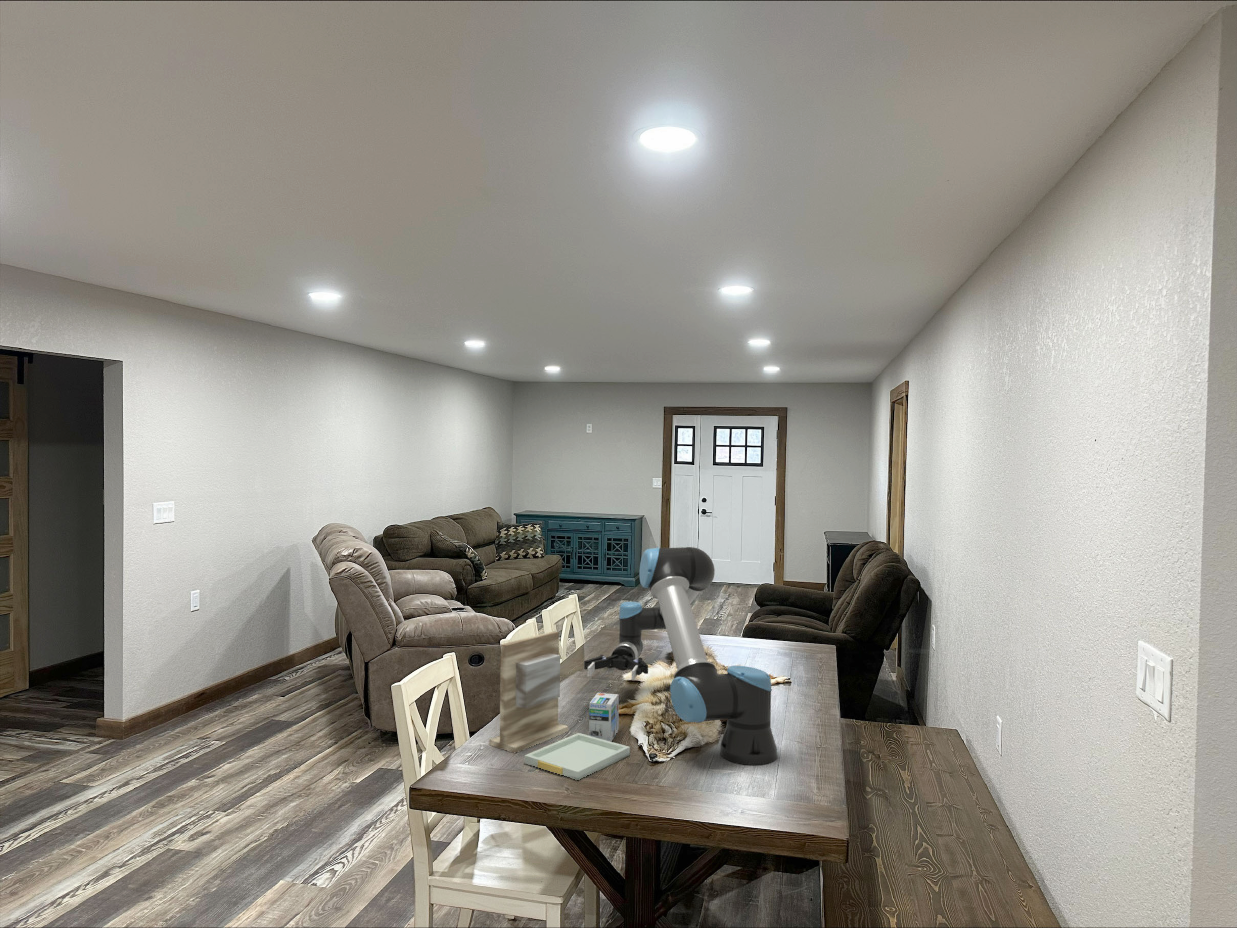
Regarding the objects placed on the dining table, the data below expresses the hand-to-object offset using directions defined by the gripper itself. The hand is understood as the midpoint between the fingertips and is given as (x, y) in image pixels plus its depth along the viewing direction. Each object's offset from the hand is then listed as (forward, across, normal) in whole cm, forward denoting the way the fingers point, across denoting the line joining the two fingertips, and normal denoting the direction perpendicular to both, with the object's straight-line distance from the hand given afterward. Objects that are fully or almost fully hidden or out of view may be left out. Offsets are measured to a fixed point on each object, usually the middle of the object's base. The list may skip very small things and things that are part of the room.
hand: (610, 673), depth 242 cm
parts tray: (+30, +2, -14) cm, 34 cm away
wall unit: (+18, +19, -15) cm, 30 cm away
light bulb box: (+11, -1, -15) cm, 18 cm away
